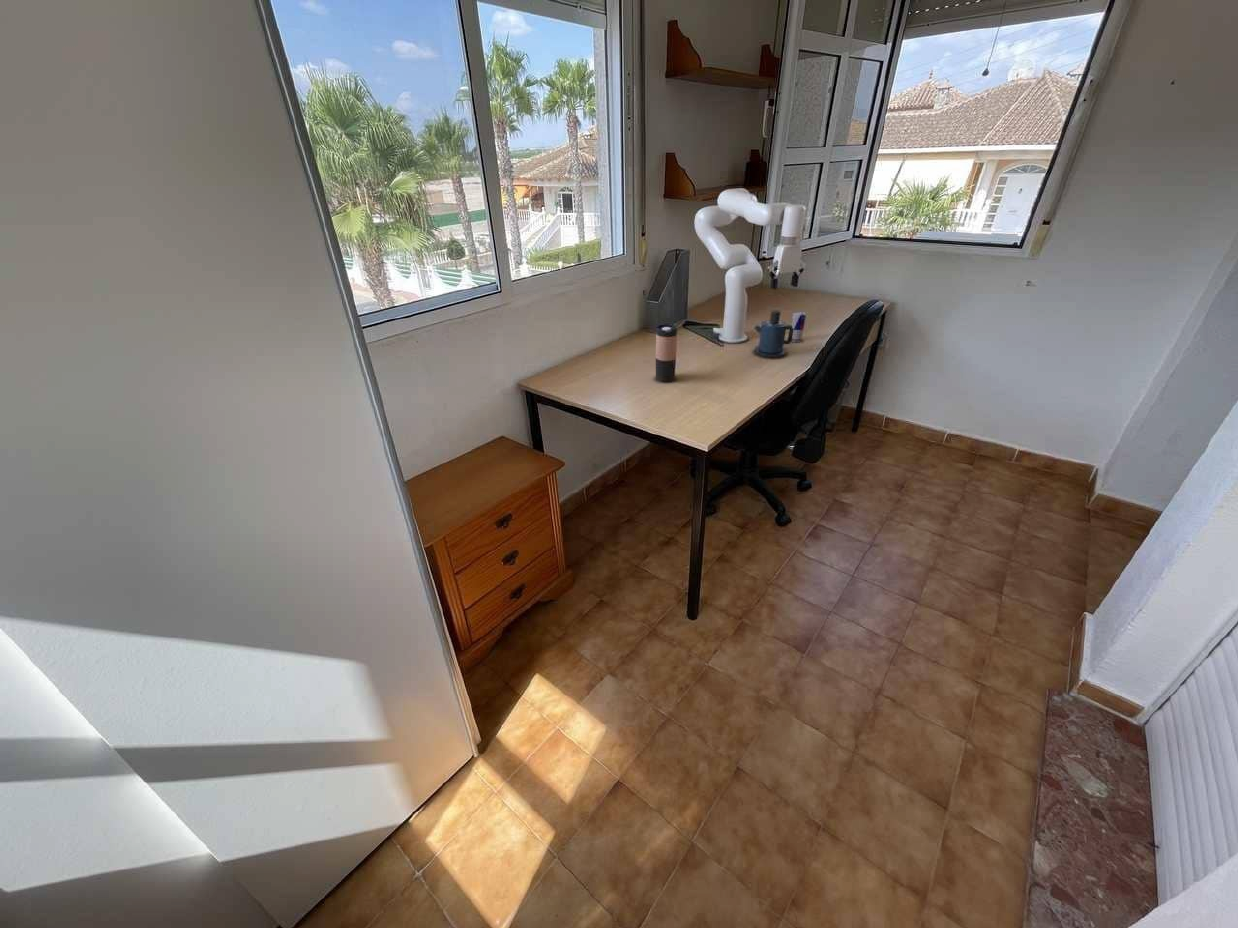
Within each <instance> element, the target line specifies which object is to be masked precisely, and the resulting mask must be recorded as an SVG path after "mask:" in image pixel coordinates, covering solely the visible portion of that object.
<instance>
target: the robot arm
mask: <svg viewBox="0 0 1238 928" xmlns="http://www.w3.org/2000/svg"><path fill="white" fill-rule="evenodd" d="M806 209H807V208H806V206H805V205H803V204H792V203H790V202H785V201H784V202H783V201H781V202H774V203H762V202H759V201H758V198H757V196H756V195H754V194H752V193H750V192H749V190H747V189H746V188H743V187H739V188H728V189H725V190H723V191H721V192H720V194H718V197H717V205H711V206H710V205H709V206H705V207H703V208H700V209H699V210H698V211H697V212H696V214H695V216H694V221H693V222H694V224H693V225H694V231H695V233H696V235H697V237H698V238H699V240H700V241H701V243H702V244H703V246H705V248H706V249H707V251H708V252H709V253H710V255H711V257H712V258H713V260H714V261H715V263H716V264H717V265H718V267H719V268H720V269H721V270H727V271H726V273H725V276H724V286H725V301H724V312H723V324H722V327H720V328H719V327H713V329H712V332H713V333H714V334H719V335H718V340H720V341H722V342H724V343H728V344H740V343H743V342H746V341H747V340H748V336H747V335H746V334H745V326H746V319H747V318H746V317H747V308H748V301H749V299H748V294H747V290H746V289H748V288H751V287H754V286H757V285H759V284H760V283H761V282H762V281H763V278H764V271H763V268H762V266H761V264H760V263H759V261H758V260H757V259H756V257H755V255H754V254H753V252H752V251H751V250H750V248H749V247H748V246H747V245H745V244H743V243H734V244H731V243H730V242H729V241H728V240H727V238H726V236H725V235H724V234H723V233H722V232H720V230H718V229H717V228H718V227H719V228H720V227H726V226H728V225H730V224H732V223H733V222H734V221H735V220H737V218H739V217H742V218H744V219H745V220H746V221H747V222H748V223H751V224H753V225H758V226H762V227H771V226H778V225H782V226H781V233H780V241H779V244H777V246H776V249H775V253H774V256H773V261H772V263H771V264H769V265H768V266H767V267H766V270H767V274H768V275H769V277H770V289H772V290H777V289H778V283H779V279H778V277H779V276H780V275H781V274H789V273H790V274H791V273H792V277H791V281H790V286H792V287H795V288H797V287H798V283H799V278H800V277H801V275H802V273H803V272H804V269H805V268H806V266H807V263H805V262H804V261H803V260H802V253H803V252H802V243H801V242H802V241H803V240H804V237H803V230H804V224H805V217H806Z"/></svg>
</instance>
